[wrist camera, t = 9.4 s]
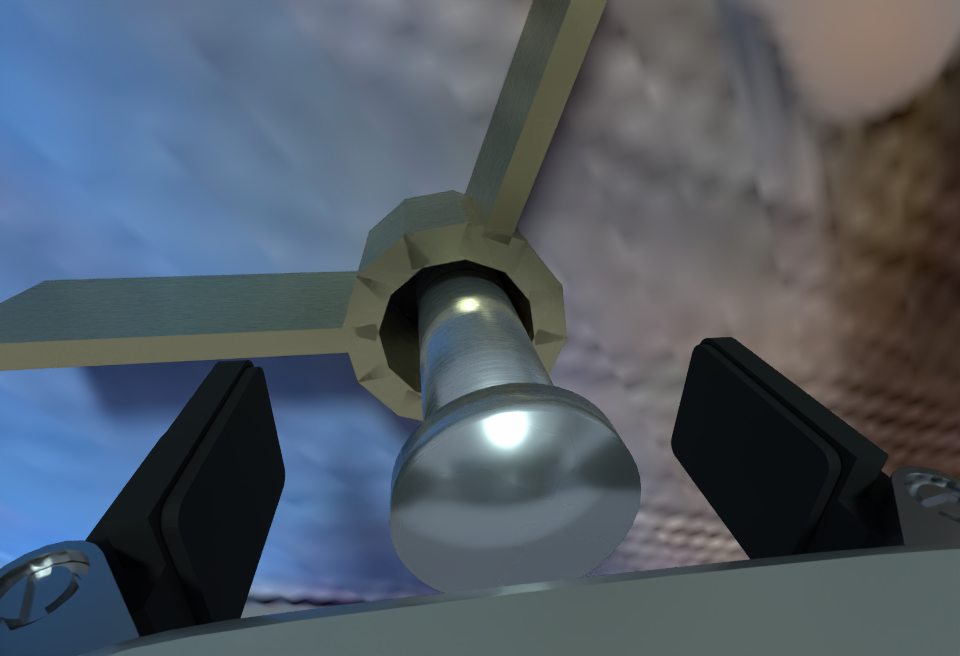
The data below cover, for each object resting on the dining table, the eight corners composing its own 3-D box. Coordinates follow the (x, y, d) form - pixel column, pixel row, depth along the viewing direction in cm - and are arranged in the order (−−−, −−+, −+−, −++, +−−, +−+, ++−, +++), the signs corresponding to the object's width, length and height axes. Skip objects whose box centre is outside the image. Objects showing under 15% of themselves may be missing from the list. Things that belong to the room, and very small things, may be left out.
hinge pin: (523, 243, 18) (687, 443, 8) (485, 336, 20) (575, 612, 9) (419, 207, 17) (439, 382, 6) (387, 308, 19) (358, 586, 8)
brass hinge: (698, -107, 14) (830, -201, 10) (477, 403, 21) (496, 483, 17) (62, -514, 10) (-223, -1023, 5) (44, 299, 17) (-87, 371, 12)
